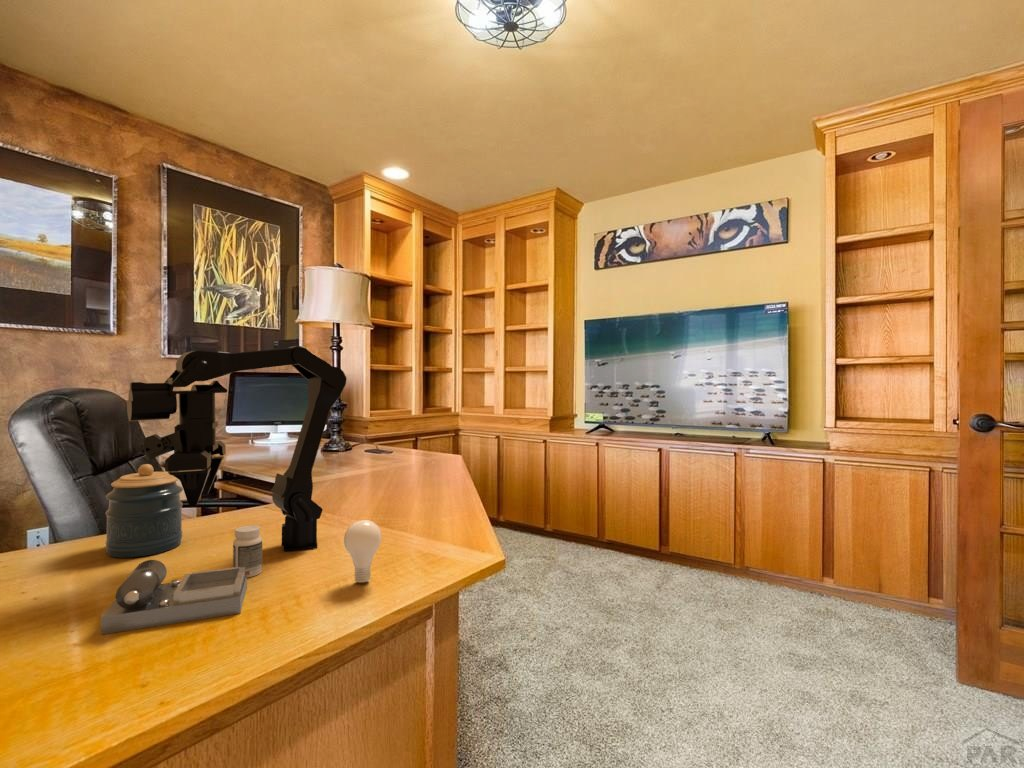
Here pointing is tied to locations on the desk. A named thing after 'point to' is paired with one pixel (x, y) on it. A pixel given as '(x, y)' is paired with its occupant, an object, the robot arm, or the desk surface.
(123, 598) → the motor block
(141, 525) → the canister
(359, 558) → the lightbulb
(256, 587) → the desk surface
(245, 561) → the pill bottle
